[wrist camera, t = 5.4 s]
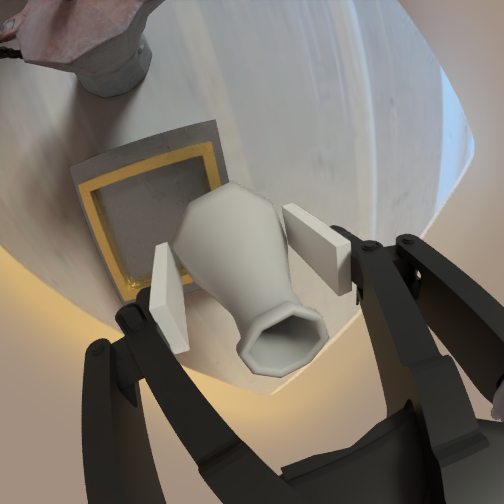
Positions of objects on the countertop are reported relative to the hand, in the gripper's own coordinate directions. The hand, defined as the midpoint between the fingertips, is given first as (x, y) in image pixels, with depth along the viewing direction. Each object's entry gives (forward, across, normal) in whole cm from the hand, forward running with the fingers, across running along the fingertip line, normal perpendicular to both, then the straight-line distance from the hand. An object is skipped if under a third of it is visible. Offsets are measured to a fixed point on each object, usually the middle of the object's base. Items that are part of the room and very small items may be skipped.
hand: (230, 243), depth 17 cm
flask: (+1, 0, 0) cm, 1 cm away
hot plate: (+17, -5, -2) cm, 18 cm away
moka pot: (+17, -7, +18) cm, 26 cm away
